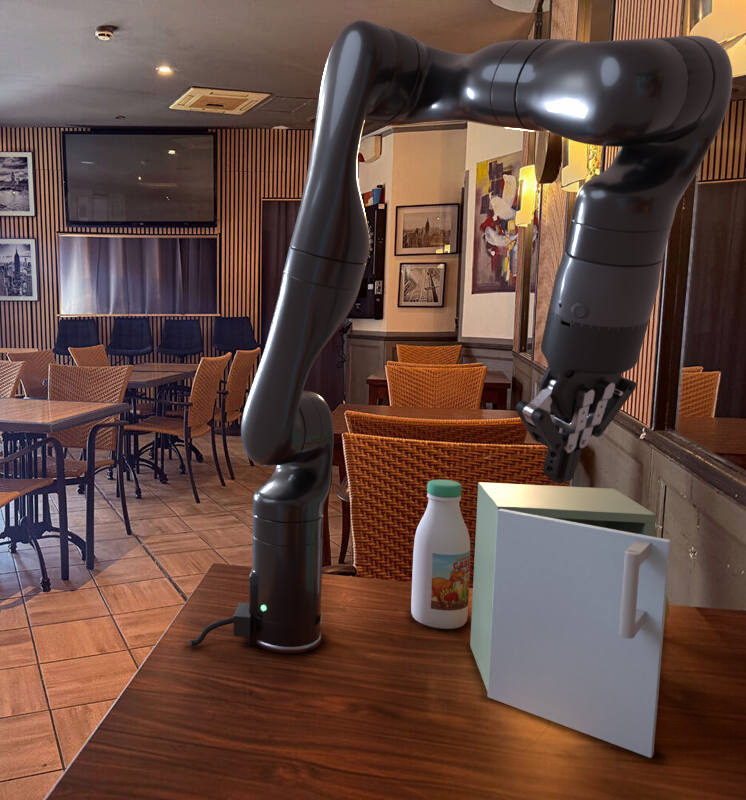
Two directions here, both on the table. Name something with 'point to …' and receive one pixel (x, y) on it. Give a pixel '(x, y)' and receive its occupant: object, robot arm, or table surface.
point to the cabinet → (548, 502)
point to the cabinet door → (579, 626)
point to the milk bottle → (441, 560)
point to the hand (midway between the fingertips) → (557, 477)
